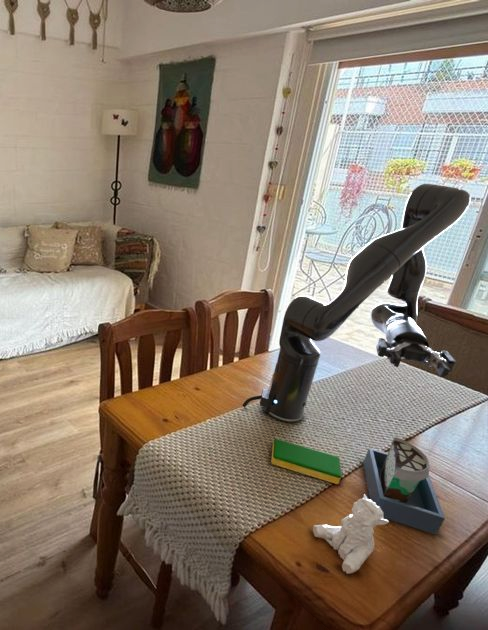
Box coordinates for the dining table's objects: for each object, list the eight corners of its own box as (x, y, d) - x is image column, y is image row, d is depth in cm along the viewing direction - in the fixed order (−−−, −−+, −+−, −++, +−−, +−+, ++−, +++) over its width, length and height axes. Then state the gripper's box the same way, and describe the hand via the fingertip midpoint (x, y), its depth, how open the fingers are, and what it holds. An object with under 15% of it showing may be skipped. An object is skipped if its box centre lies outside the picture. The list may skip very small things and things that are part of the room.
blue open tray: (372, 514, 90) (380, 498, 88) (362, 462, 103) (368, 447, 101) (436, 534, 85) (445, 518, 84) (417, 478, 99) (424, 463, 97)
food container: (417, 520, 88) (436, 482, 84) (381, 506, 91) (397, 469, 87) (412, 481, 98) (429, 446, 93) (379, 470, 100) (394, 435, 96)
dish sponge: (272, 445, 108) (274, 437, 107) (336, 464, 102) (339, 456, 101) (271, 464, 102) (273, 456, 101) (338, 485, 96) (341, 476, 96)
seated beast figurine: (308, 531, 85) (325, 484, 80) (345, 523, 87) (364, 478, 82) (347, 576, 77) (368, 528, 72) (386, 567, 79) (410, 519, 74)
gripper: (377, 319, 111) (388, 345, 98) (446, 332, 106) (468, 361, 92) (367, 345, 114) (377, 374, 101) (434, 359, 109) (453, 391, 95)
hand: (420, 368), depth 97 cm, fingers open, 8 cm apart
